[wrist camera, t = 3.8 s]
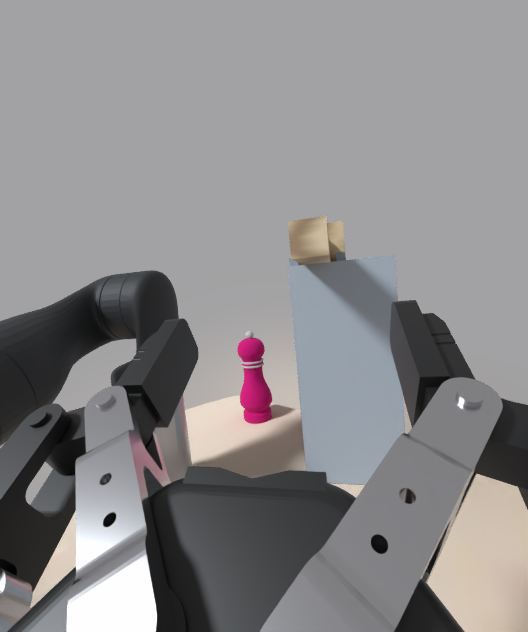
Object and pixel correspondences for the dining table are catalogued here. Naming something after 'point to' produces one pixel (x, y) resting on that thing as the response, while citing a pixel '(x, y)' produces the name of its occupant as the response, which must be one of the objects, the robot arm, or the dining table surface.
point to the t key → (315, 240)
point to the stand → (346, 364)
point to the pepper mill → (254, 381)
